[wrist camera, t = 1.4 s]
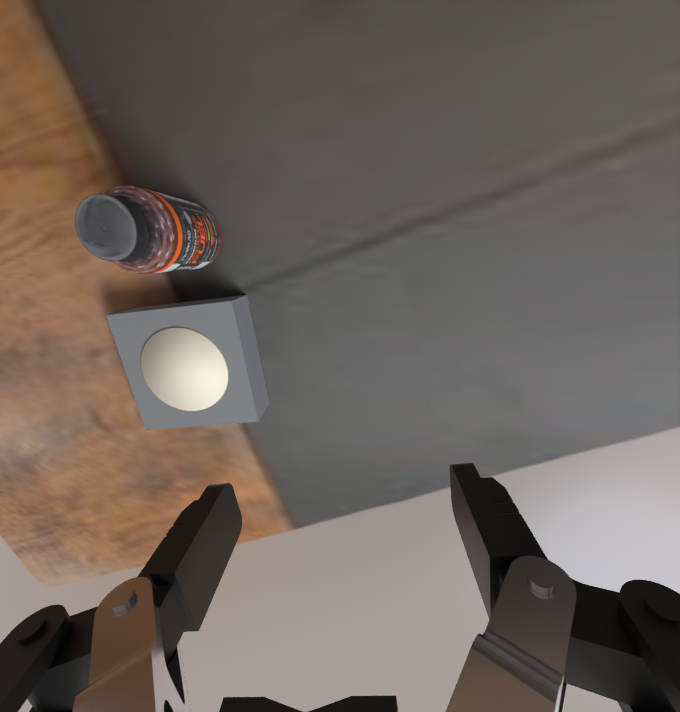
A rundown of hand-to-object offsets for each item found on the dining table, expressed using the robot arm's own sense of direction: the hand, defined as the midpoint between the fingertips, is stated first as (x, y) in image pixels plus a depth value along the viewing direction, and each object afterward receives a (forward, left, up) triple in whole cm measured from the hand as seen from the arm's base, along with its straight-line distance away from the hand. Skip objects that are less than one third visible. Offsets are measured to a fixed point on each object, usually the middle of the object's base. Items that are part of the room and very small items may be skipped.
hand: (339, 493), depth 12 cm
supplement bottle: (-11, -14, -23) cm, 29 cm away
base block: (+1, -16, -22) cm, 28 cm away
